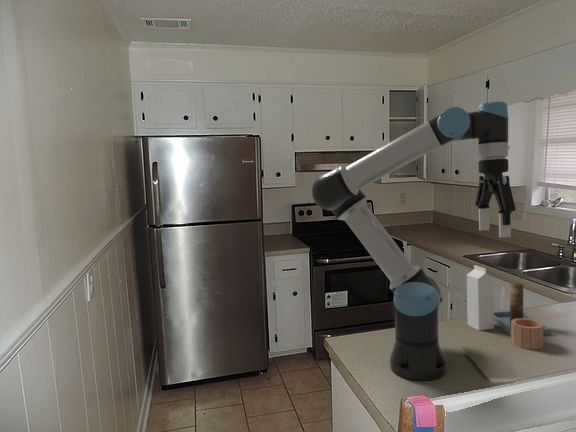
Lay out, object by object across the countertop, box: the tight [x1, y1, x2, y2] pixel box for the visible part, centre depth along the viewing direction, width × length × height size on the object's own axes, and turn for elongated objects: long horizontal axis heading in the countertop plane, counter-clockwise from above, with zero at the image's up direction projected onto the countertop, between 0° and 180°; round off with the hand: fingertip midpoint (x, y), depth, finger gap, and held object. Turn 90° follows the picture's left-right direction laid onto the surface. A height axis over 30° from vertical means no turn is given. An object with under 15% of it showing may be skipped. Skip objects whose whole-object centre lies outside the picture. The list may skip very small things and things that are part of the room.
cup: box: [510, 318, 544, 350], centre depth 124 cm, size 8×8×8 cm
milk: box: [466, 264, 495, 331], centre depth 139 cm, size 6×6×22 cm
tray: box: [494, 310, 551, 337], centre depth 139 cm, size 12×18×3 cm, turn 176°
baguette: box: [509, 282, 524, 325], centre depth 138 cm, size 4×4×14 cm
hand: (494, 233), depth 116 cm, fingers open, 13 cm apart
